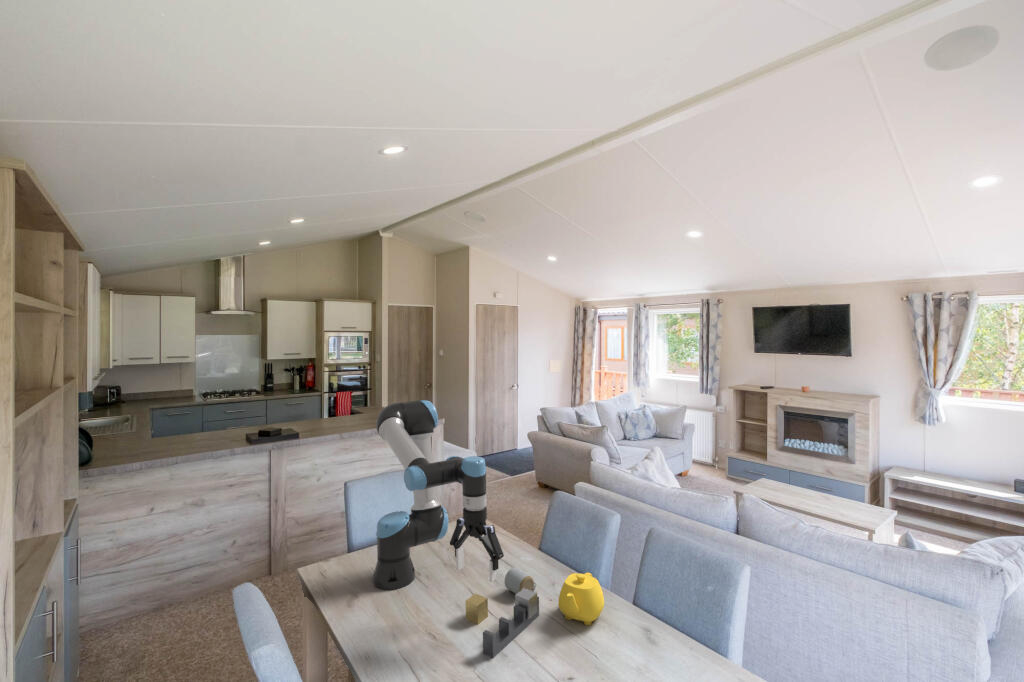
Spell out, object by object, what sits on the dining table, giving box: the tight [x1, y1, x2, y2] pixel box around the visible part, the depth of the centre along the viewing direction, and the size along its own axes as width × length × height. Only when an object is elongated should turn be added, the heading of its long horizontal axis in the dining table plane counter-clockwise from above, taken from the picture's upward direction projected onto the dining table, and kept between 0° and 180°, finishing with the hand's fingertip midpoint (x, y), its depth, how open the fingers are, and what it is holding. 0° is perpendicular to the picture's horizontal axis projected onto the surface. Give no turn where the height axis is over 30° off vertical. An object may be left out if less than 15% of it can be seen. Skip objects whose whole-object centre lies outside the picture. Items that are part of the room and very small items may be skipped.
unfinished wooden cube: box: [465, 593, 489, 625], centre depth 151 cm, size 5×5×6 cm
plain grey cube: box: [514, 588, 538, 619], centre depth 149 cm, size 5×5×6 cm
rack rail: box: [482, 595, 540, 659], centre depth 143 cm, size 4×24×6 cm, turn 144°
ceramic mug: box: [504, 566, 537, 595], centre depth 166 cm, size 11×8×8 cm
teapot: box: [557, 572, 605, 626], centre depth 151 cm, size 14×20×13 cm
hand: (476, 573), depth 151 cm, fingers open, 13 cm apart
